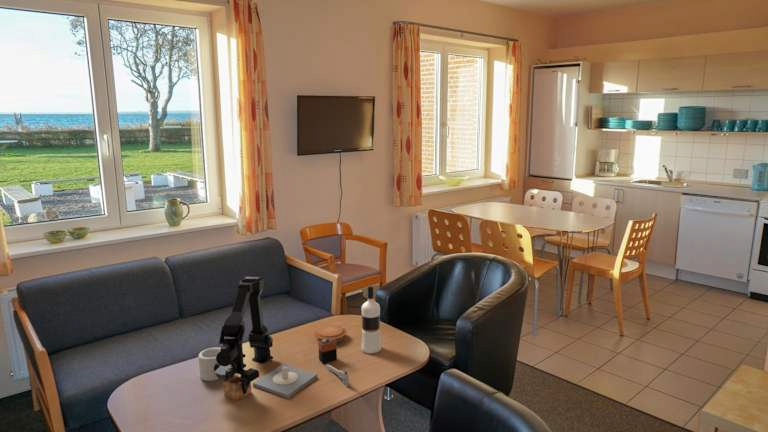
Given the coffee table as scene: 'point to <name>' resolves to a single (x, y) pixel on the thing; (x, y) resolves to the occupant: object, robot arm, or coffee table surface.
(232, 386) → the collar
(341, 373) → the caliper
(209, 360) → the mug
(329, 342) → the battery
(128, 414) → the coffee table surface
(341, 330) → the pie
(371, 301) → the vodka
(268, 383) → the post board
